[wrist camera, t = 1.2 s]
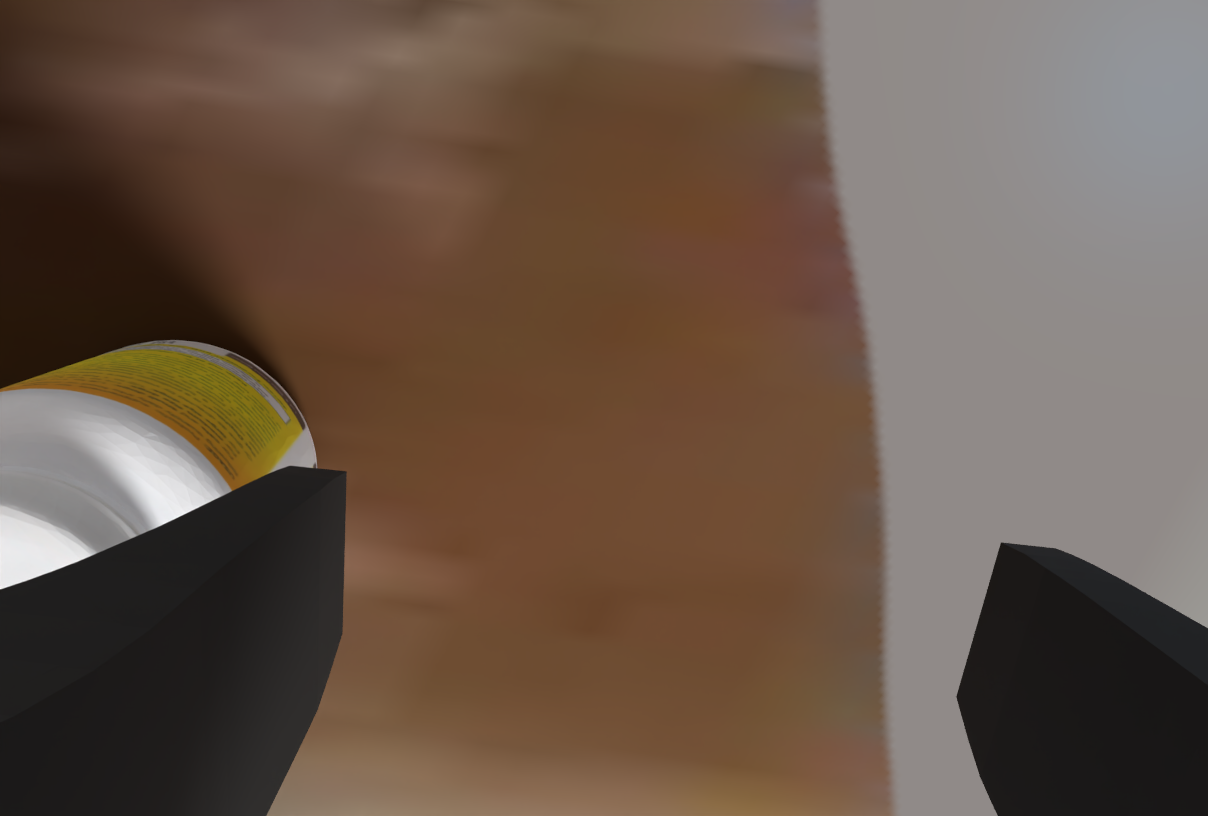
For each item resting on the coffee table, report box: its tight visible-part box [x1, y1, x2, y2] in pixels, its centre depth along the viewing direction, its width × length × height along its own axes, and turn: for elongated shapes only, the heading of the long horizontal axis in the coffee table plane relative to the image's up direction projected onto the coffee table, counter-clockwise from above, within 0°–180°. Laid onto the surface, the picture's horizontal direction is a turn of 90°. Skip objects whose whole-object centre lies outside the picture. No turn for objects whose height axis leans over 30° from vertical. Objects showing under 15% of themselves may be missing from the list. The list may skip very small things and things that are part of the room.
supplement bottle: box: [0, 340, 317, 589], centre depth 16 cm, size 6×6×10 cm
